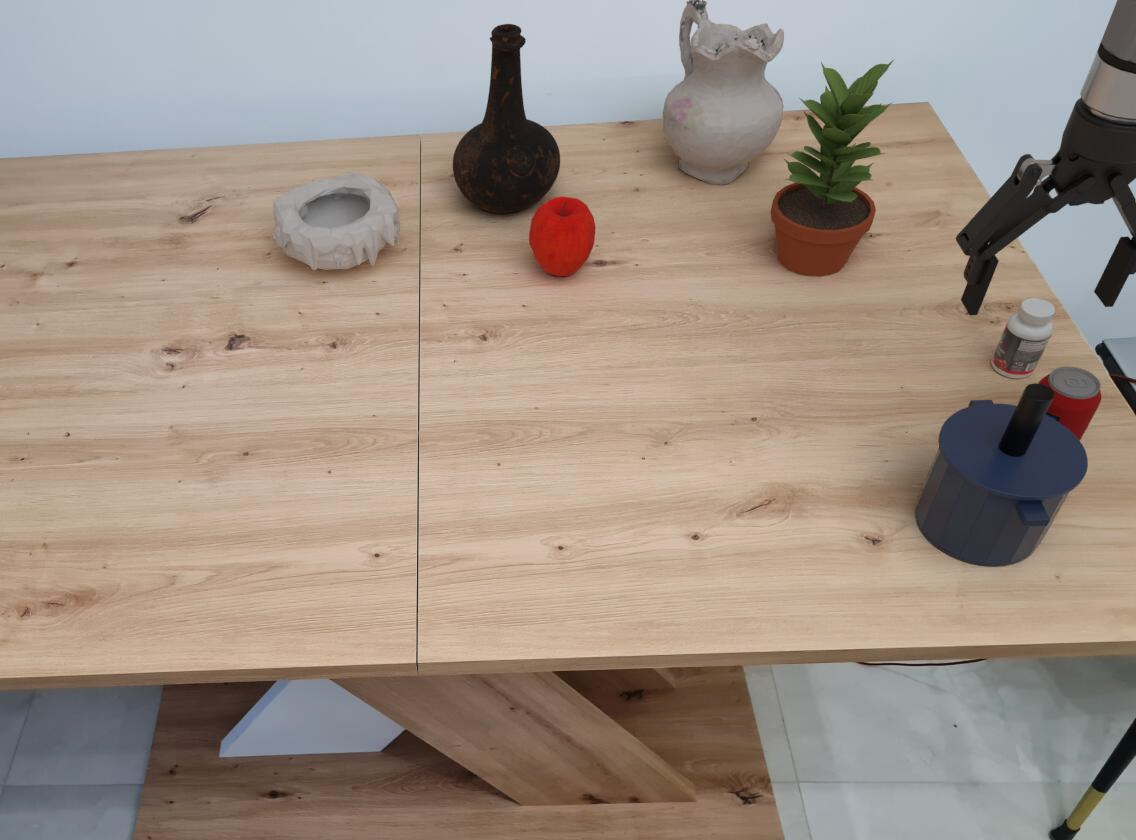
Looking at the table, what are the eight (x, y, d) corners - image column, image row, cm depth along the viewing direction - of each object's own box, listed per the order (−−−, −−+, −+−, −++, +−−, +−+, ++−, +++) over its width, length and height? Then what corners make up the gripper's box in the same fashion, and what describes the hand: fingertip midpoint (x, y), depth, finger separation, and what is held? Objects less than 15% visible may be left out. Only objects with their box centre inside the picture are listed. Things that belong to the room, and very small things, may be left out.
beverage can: (1002, 435, 133) (1038, 360, 124) (1061, 439, 131) (1100, 364, 122) (1011, 472, 128) (1048, 397, 119) (1071, 477, 127) (1113, 402, 118)
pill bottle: (984, 355, 143) (1009, 295, 136) (1025, 353, 142) (1053, 293, 135) (997, 380, 139) (1023, 320, 132) (1039, 379, 139) (1068, 319, 132)
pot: (1009, 464, 129) (1044, 393, 121) (1066, 584, 117) (1110, 514, 108) (895, 467, 130) (922, 396, 122) (939, 586, 118) (973, 516, 109)
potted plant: (740, 245, 164) (775, 51, 142) (826, 222, 166) (874, 29, 144) (792, 297, 154) (838, 98, 132) (882, 272, 157) (943, 73, 134)
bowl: (303, 306, 162) (292, 250, 154) (261, 242, 174) (250, 187, 167) (425, 267, 166) (421, 211, 159) (375, 208, 179) (369, 153, 172)
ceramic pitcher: (625, 167, 184) (629, 26, 165) (695, 117, 191) (707, -24, 171) (727, 211, 173) (745, 65, 153) (798, 156, 180) (823, 9, 160)
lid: (1054, 409, 120) (1087, 344, 113) (1105, 503, 110) (1144, 439, 103) (920, 412, 121) (944, 349, 114) (959, 506, 111) (988, 442, 104)
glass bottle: (469, 236, 171) (463, 64, 150) (442, 182, 183) (433, 16, 162) (573, 215, 173) (581, 43, 152) (540, 163, 185) (543, -3, 164)
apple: (538, 295, 159) (539, 224, 150) (520, 260, 166) (520, 189, 157) (601, 283, 160) (606, 212, 151) (581, 248, 167) (585, 178, 157)
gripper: (1247, 75, 95) (1142, 274, 111) (965, 95, 96) (902, 289, 112) (1293, 114, 90) (1177, 317, 106) (996, 135, 91) (925, 333, 107)
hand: (1035, 303), depth 109 cm, fingers open, 13 cm apart
